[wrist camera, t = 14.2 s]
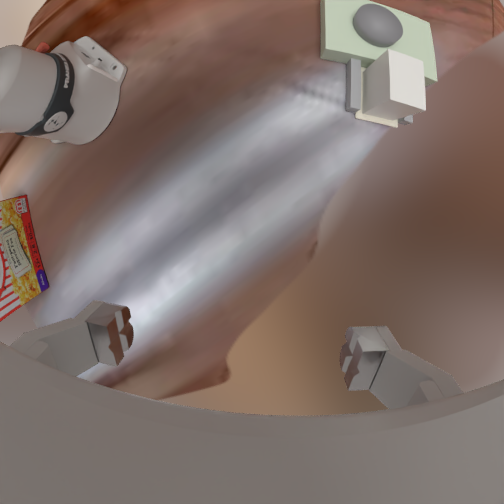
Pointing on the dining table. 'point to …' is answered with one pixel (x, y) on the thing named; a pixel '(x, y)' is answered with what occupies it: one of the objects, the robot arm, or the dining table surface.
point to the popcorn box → (18, 257)
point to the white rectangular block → (394, 86)
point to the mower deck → (372, 44)
